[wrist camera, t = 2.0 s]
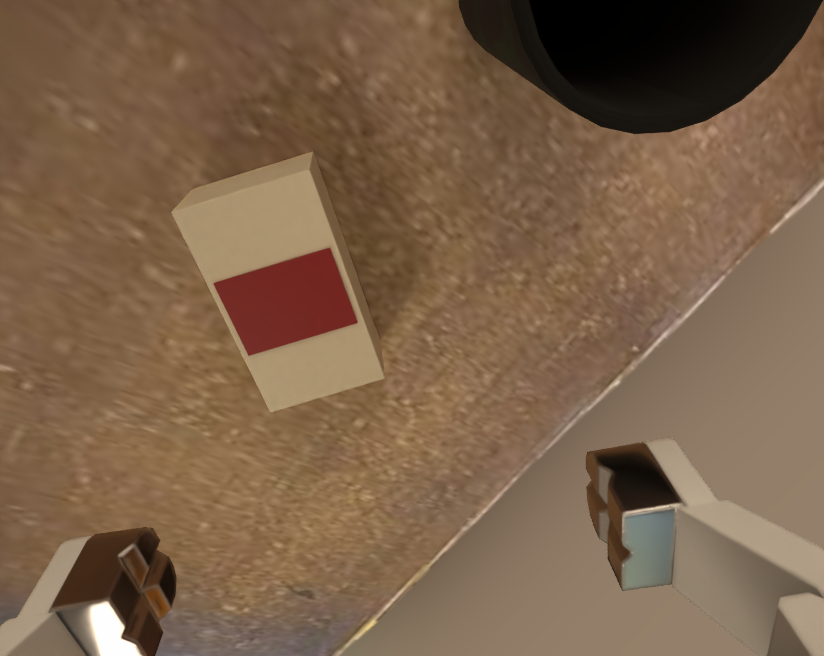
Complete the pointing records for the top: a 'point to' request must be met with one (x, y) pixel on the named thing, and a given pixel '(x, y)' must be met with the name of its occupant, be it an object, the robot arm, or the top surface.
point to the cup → (641, 53)
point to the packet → (283, 280)
